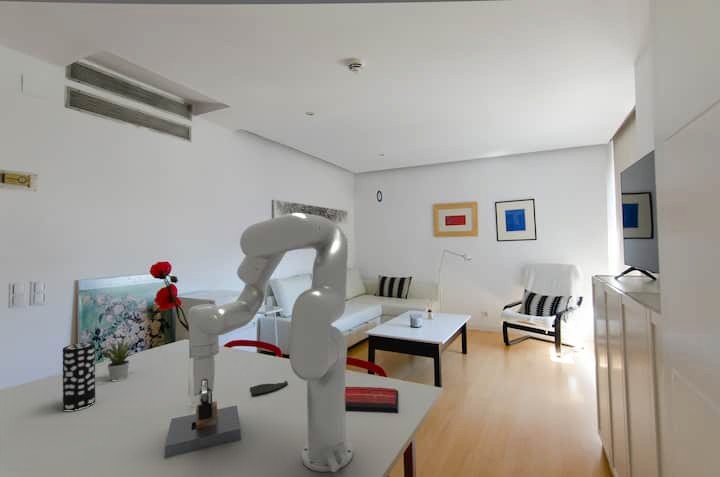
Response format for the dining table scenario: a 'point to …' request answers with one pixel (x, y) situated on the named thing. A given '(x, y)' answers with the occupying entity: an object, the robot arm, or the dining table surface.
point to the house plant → (118, 360)
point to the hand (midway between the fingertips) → (205, 410)
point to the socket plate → (202, 432)
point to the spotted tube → (78, 375)
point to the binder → (371, 399)
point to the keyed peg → (209, 421)
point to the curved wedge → (267, 388)
